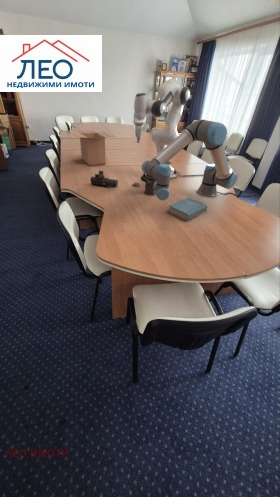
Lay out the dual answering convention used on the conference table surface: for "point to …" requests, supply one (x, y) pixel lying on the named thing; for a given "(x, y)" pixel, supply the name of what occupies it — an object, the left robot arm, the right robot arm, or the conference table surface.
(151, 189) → the bottle
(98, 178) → the laser sight
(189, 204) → the book
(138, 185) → the cap
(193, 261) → the conference table surface
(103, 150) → the box
